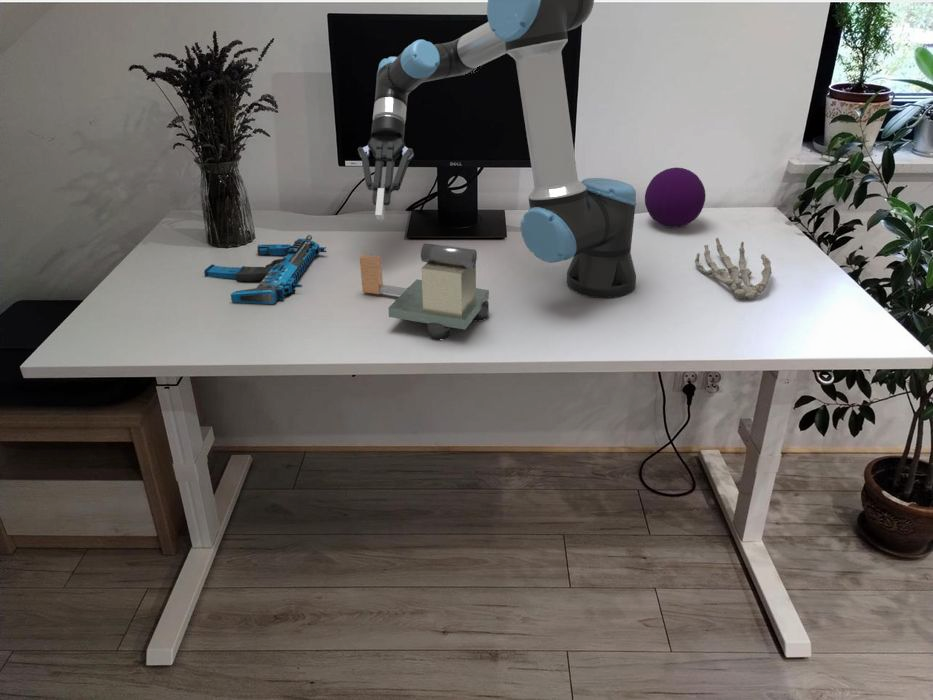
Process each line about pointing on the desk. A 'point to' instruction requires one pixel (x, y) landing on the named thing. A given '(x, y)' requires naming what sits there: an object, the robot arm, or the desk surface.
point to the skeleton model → (736, 273)
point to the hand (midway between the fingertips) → (379, 217)
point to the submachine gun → (271, 272)
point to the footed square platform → (444, 292)
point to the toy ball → (675, 197)
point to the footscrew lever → (375, 277)
